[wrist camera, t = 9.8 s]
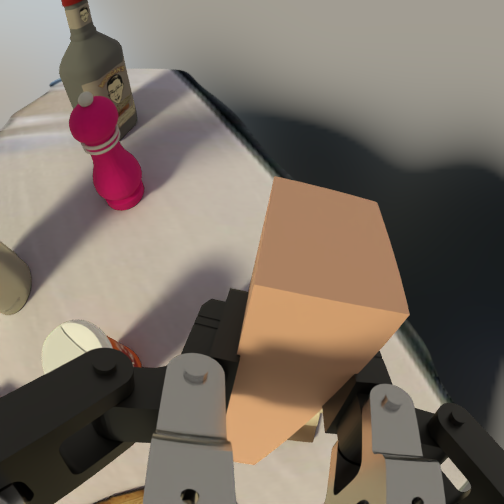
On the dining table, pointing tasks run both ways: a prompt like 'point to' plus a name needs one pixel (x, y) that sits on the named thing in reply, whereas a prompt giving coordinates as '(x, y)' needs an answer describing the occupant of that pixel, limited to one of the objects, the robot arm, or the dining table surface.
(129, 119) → the liquor
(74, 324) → the paper cup
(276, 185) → the terracotta block
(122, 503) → the parchment
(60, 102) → the dining table surface
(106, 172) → the pepper mill
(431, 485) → the robot arm
